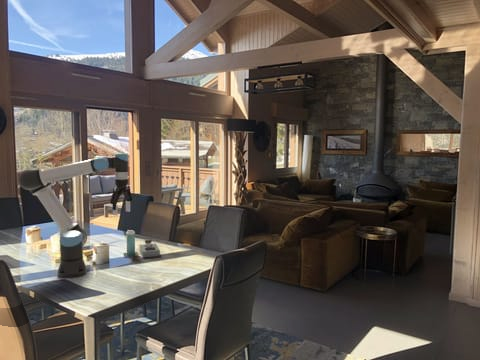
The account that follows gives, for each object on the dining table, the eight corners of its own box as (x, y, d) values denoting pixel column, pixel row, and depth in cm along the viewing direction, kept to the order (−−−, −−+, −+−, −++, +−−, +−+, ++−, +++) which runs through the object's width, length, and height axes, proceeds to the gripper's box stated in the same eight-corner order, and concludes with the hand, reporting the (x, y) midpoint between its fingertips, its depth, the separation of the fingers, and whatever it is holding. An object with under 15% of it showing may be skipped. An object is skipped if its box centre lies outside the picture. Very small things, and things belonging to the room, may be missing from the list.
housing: (159, 256, 247) (159, 250, 247) (142, 257, 243) (142, 251, 243) (155, 249, 263) (155, 243, 263) (139, 250, 259) (139, 244, 259)
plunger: (145, 251, 255) (145, 241, 254) (144, 249, 259) (144, 239, 258) (152, 250, 256) (152, 240, 256) (151, 249, 261) (151, 238, 260)
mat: (124, 257, 243) (124, 257, 243) (123, 253, 251) (123, 253, 251) (138, 256, 246) (138, 255, 246) (137, 252, 254) (137, 251, 254)
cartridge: (132, 256, 245) (131, 231, 243) (125, 255, 247) (124, 231, 245) (136, 253, 250) (136, 229, 248) (129, 252, 252) (129, 229, 250)
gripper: (114, 180, 215) (115, 217, 217) (138, 177, 239) (138, 210, 241) (103, 180, 217) (103, 216, 219) (127, 176, 241) (127, 209, 243)
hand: (121, 213), depth 230 cm, fingers open, 13 cm apart
